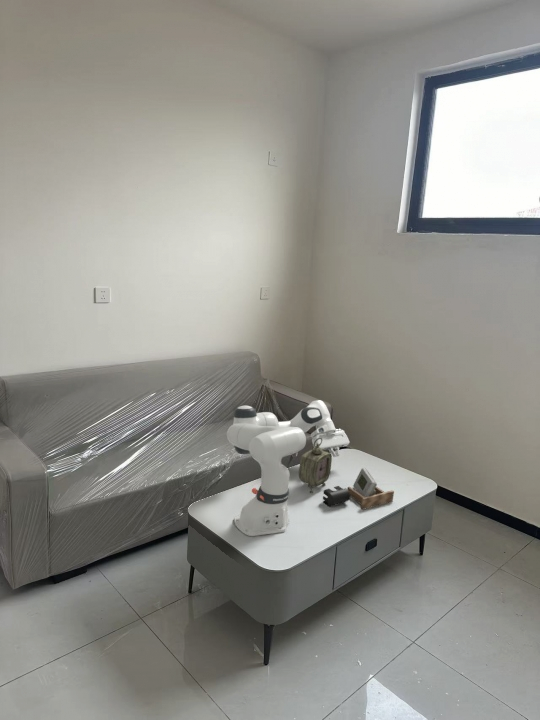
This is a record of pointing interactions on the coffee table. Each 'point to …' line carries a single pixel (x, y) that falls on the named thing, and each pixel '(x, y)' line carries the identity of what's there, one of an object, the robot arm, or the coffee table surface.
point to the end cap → (336, 496)
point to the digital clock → (365, 483)
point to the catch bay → (372, 498)
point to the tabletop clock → (315, 466)
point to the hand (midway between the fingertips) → (336, 456)
